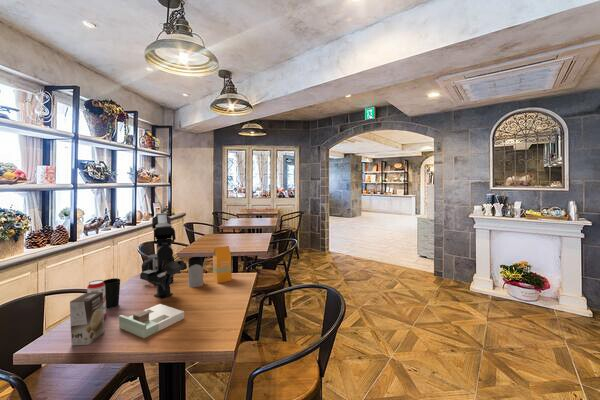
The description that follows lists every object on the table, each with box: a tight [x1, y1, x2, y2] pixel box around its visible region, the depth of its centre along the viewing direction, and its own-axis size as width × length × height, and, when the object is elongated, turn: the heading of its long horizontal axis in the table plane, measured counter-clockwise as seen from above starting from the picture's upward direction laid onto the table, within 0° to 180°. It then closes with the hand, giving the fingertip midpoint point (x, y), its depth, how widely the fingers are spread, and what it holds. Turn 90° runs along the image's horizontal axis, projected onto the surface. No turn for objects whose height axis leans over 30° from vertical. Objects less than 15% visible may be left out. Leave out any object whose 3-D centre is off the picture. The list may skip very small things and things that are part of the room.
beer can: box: [86, 279, 107, 319], centre depth 122 cm, size 6×6×16 cm
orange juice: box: [212, 245, 233, 284], centre depth 171 cm, size 8×9×20 cm
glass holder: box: [187, 256, 205, 288], centre depth 166 cm, size 9×14×15 cm, turn 21°
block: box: [132, 310, 149, 323], centre depth 115 cm, size 4×4×3 cm
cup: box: [103, 277, 121, 310], centre depth 135 cm, size 8×8×12 cm
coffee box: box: [69, 292, 105, 346], centre depth 107 cm, size 9×6×16 cm
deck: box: [118, 303, 185, 339], centre depth 119 cm, size 16×18×5 cm
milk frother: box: [141, 253, 157, 283], centre depth 168 cm, size 14×16×15 cm
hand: (165, 289), depth 124 cm, fingers closed
